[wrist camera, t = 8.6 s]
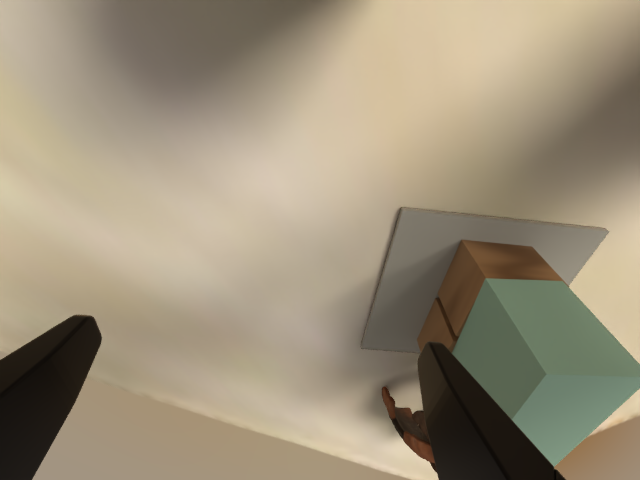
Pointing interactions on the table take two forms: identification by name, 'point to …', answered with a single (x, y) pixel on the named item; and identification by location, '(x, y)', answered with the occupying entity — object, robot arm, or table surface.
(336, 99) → the table surface
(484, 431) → the robot arm
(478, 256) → the post
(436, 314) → the brown wooden block
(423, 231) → the build mat
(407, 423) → the brown curved piece
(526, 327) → the lintel
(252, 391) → the table surface
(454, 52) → the table surface
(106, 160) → the table surface
